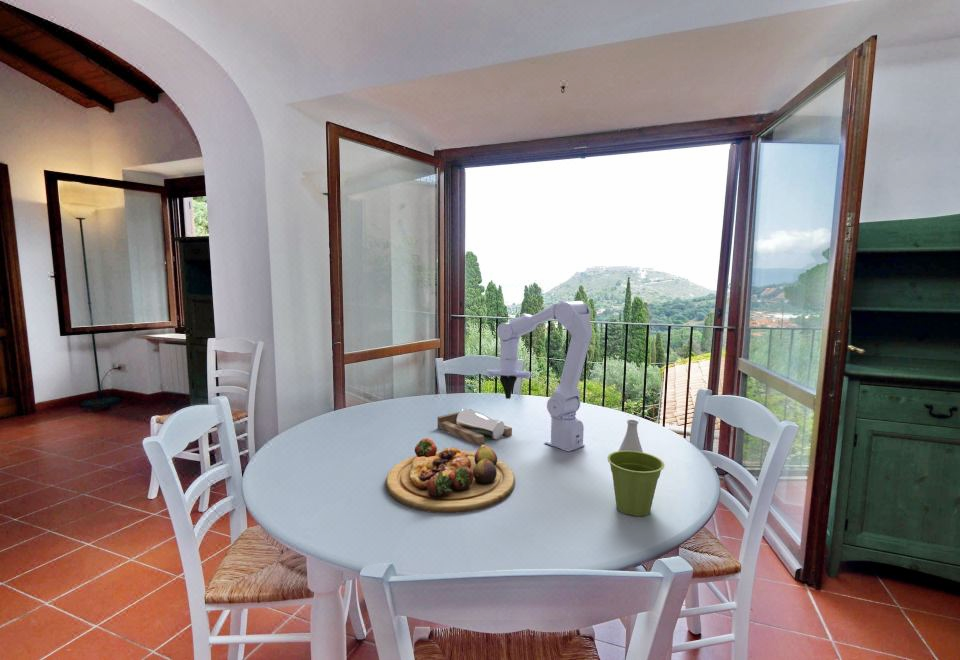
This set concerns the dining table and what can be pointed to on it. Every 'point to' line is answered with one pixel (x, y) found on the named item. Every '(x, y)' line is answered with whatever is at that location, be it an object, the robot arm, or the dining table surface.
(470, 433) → the cradle
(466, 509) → the wooden plate with food
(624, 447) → the flask
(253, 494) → the dining table surface
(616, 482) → the plant pot
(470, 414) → the beer glass
